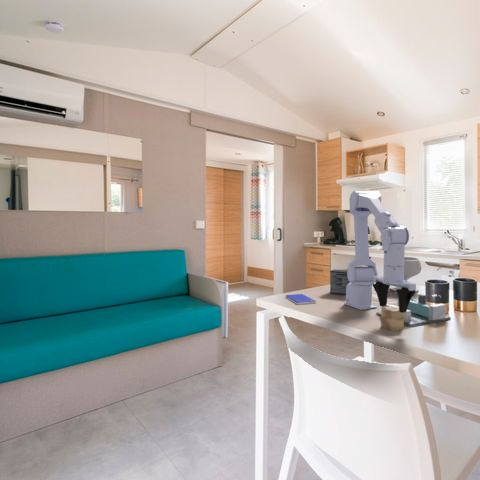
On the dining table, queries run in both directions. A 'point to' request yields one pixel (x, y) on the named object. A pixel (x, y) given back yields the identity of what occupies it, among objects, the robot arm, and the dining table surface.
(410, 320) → the press
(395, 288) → the chalice
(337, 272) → the small box
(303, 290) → the dining table surface
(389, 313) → the block
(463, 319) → the dining table surface
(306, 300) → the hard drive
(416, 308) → the ram
